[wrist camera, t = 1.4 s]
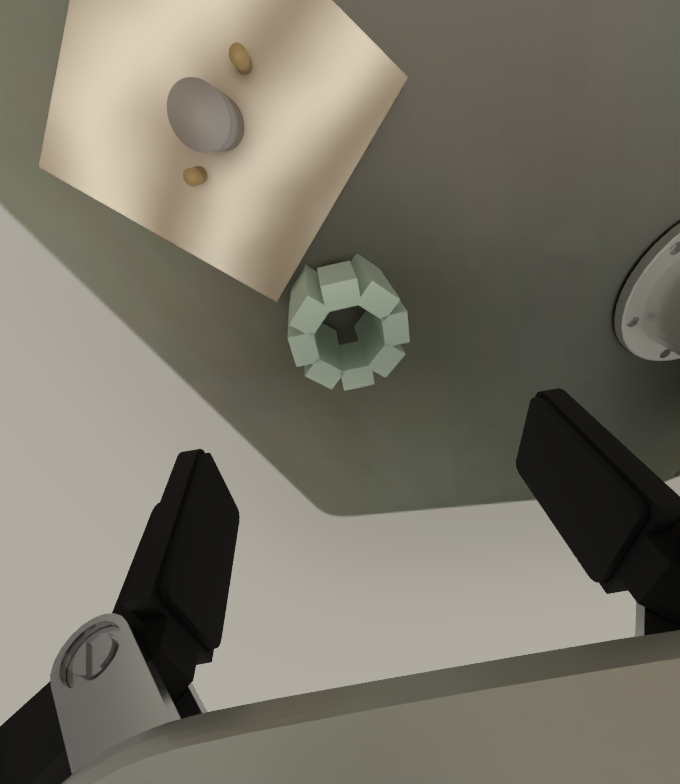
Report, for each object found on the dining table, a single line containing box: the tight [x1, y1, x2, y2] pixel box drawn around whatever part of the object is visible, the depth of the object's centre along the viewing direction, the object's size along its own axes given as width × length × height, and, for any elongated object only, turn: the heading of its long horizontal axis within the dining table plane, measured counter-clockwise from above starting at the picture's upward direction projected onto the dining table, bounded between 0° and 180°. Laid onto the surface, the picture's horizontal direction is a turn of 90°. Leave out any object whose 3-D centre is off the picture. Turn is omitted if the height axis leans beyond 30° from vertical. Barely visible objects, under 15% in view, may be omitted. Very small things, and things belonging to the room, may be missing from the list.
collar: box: [287, 252, 410, 391], centre depth 23 cm, size 7×7×6 cm
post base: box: [39, 0, 408, 302], centre depth 17 cm, size 14×14×6 cm
